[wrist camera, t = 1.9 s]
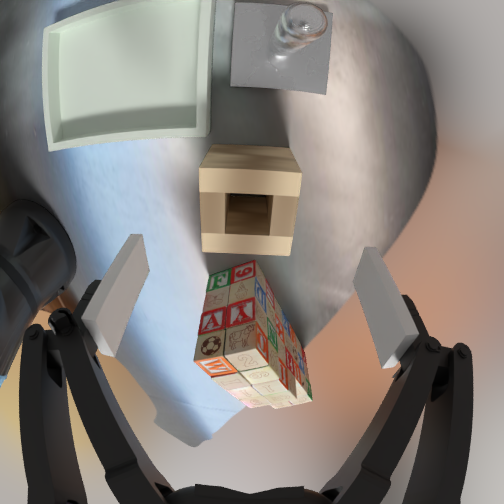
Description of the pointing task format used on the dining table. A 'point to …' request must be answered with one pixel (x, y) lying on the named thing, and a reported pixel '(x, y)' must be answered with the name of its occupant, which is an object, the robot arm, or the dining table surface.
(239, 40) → the post
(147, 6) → the tray
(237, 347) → the stack of blocks
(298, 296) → the dining table surface
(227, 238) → the oak block
